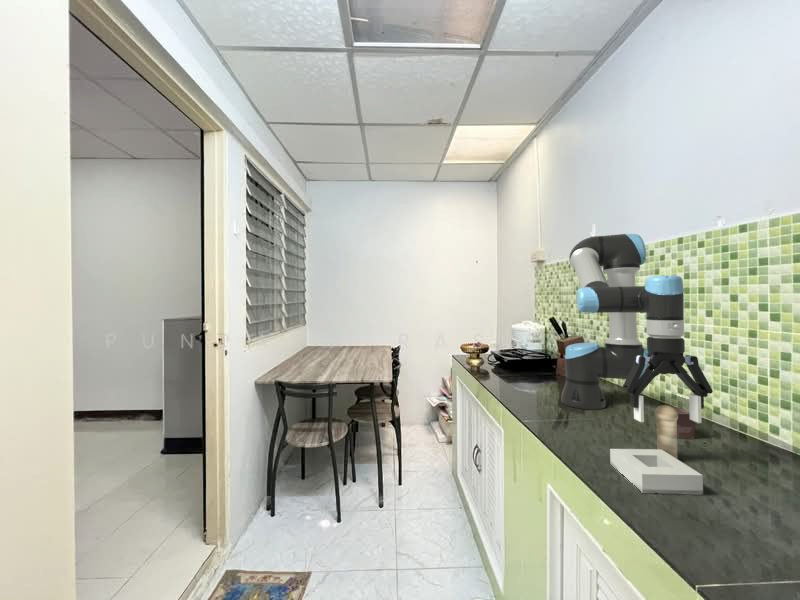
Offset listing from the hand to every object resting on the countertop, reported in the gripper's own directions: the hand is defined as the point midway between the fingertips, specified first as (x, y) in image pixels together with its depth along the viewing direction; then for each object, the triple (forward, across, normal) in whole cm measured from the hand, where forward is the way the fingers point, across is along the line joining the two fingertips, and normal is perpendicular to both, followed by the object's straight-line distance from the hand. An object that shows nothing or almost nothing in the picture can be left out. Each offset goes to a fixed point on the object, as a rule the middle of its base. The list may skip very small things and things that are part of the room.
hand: (667, 421), depth 85 cm
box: (+10, +14, +16) cm, 23 cm away
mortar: (+10, -10, -10) cm, 17 cm away
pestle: (+10, 0, 0) cm, 10 cm away
